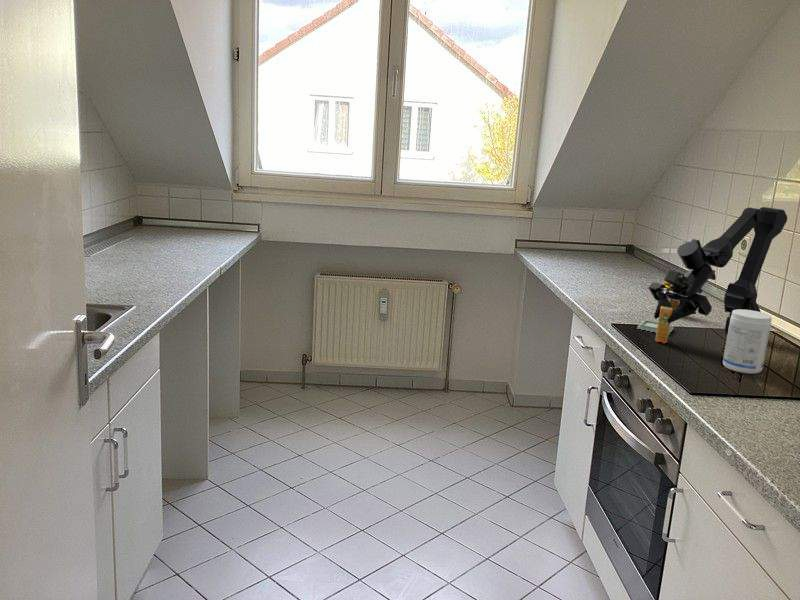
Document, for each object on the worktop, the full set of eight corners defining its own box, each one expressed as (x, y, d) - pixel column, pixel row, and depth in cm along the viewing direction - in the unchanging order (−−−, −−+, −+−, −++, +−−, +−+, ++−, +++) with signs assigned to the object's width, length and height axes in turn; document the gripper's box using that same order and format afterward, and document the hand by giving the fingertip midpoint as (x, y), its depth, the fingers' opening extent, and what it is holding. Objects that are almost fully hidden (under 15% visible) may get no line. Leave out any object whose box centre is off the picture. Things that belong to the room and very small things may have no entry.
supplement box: (654, 342, 212) (660, 307, 210) (655, 339, 215) (660, 305, 213) (667, 344, 211) (672, 309, 209) (667, 341, 214) (672, 307, 212)
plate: (672, 329, 229) (673, 324, 229) (668, 335, 221) (669, 330, 221) (642, 323, 233) (643, 319, 233) (637, 329, 225) (637, 324, 225)
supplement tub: (736, 361, 200) (746, 307, 197) (769, 372, 192) (780, 317, 189) (713, 364, 195) (723, 310, 191) (746, 376, 187) (758, 319, 184)
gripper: (657, 254, 218) (625, 293, 215) (712, 267, 202) (677, 309, 199) (672, 280, 223) (640, 318, 220) (726, 294, 208) (692, 335, 205)
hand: (661, 319), depth 211 cm, fingers closed on supplement box, 4 cm apart
